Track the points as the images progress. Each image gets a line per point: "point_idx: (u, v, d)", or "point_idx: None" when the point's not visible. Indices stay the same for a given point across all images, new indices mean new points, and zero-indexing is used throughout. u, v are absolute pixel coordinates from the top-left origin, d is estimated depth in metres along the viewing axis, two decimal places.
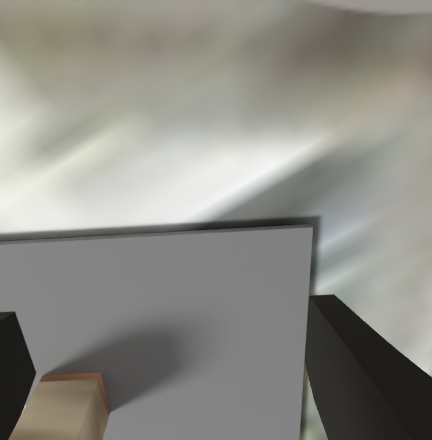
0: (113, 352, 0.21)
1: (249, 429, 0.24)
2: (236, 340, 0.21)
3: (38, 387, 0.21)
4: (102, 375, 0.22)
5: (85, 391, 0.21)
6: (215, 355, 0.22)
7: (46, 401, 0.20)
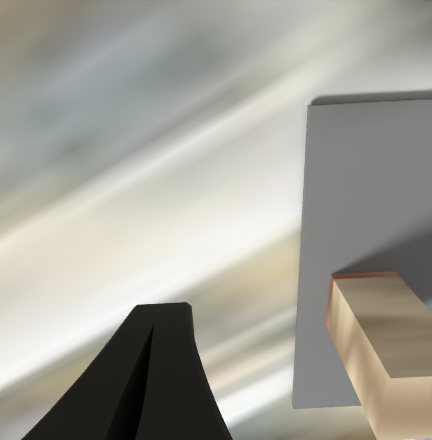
0: (418, 245, 0.19)
1: None
2: None
3: (338, 283, 0.19)
4: None
5: (397, 285, 0.19)
6: None
7: (362, 293, 0.18)
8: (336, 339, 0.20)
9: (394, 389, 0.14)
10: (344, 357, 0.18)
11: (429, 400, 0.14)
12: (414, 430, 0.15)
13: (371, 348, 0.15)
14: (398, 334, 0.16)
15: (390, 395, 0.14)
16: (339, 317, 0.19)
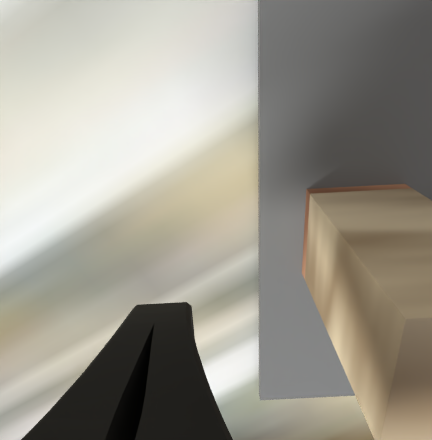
0: None
1: None
2: None
3: (316, 197, 0.12)
4: None
5: (411, 197, 0.12)
6: None
7: (354, 207, 0.11)
8: (314, 287, 0.13)
9: (413, 344, 0.07)
10: (325, 312, 0.11)
11: None
12: None
13: (366, 273, 0.08)
14: (417, 254, 0.08)
15: (404, 357, 0.07)
16: (317, 249, 0.12)
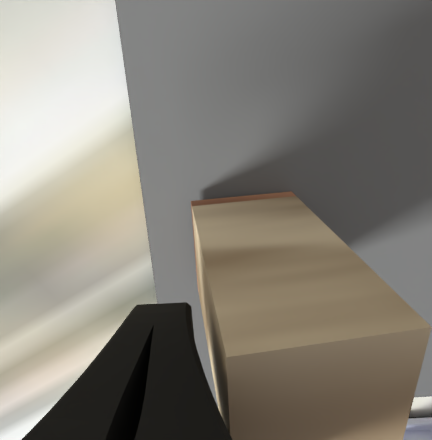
0: (325, 146, 0.12)
1: None
2: None
3: (197, 210, 0.11)
4: None
5: (291, 206, 0.11)
6: None
7: (230, 220, 0.11)
8: (201, 305, 0.12)
9: (242, 381, 0.06)
10: (206, 333, 0.11)
11: (322, 397, 0.06)
12: None
13: (212, 300, 0.07)
14: (271, 272, 0.08)
15: (236, 396, 0.06)
16: (199, 266, 0.11)
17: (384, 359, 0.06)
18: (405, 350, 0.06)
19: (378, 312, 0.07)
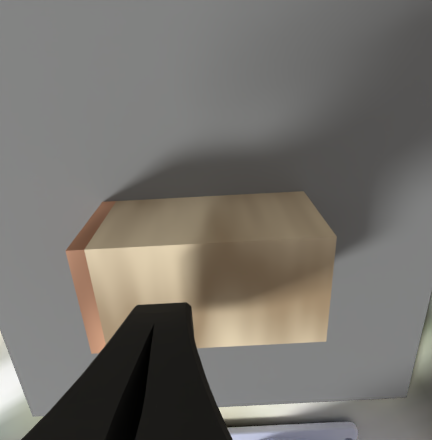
0: (126, 158, 0.12)
1: (343, 321, 0.15)
2: (346, 133, 0.12)
3: (100, 246, 0.10)
4: None
5: (138, 204, 0.12)
6: (305, 166, 0.12)
7: (144, 229, 0.10)
8: None
9: (331, 252, 0.10)
10: None
11: None
12: None
13: (271, 244, 0.09)
14: (246, 219, 0.11)
15: (332, 264, 0.10)
16: (142, 293, 0.10)
17: None
18: None
19: (292, 198, 0.12)
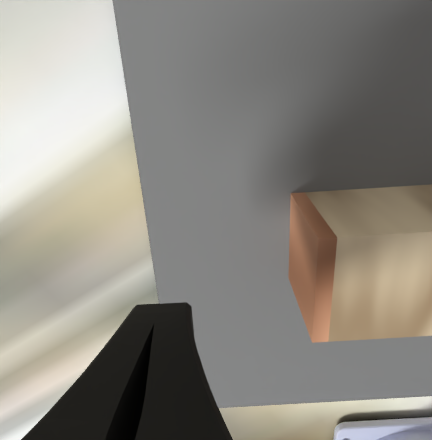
0: (323, 148, 0.12)
1: None
2: None
3: (350, 234, 0.10)
4: None
5: (333, 195, 0.12)
6: None
7: (373, 218, 0.10)
8: (374, 323, 0.11)
9: None
10: (415, 324, 0.11)
11: None
12: None
13: None
14: None
15: None
16: (381, 281, 0.10)
17: None
18: None
19: None
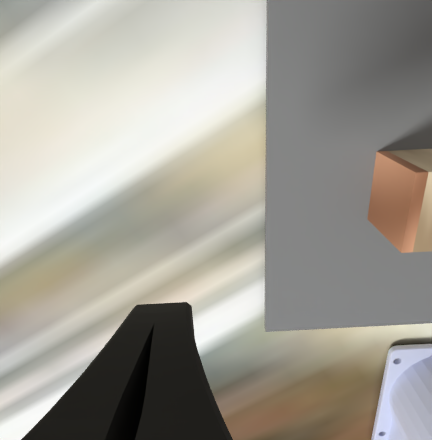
0: (403, 117, 0.17)
1: None
2: None
3: None
4: None
5: (409, 152, 0.17)
6: None
7: None
8: None
9: None
10: None
11: None
12: None
13: None
14: None
15: None
16: None
17: None
18: None
19: None
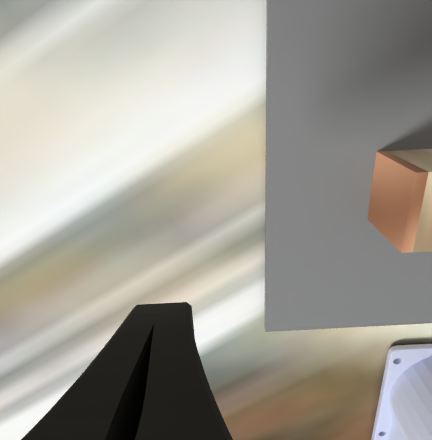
0: (403, 117, 0.17)
1: None
2: None
3: None
4: None
5: (409, 152, 0.17)
6: None
7: None
8: None
9: None
10: None
11: None
12: None
13: None
14: None
15: None
16: None
17: None
18: None
19: None
